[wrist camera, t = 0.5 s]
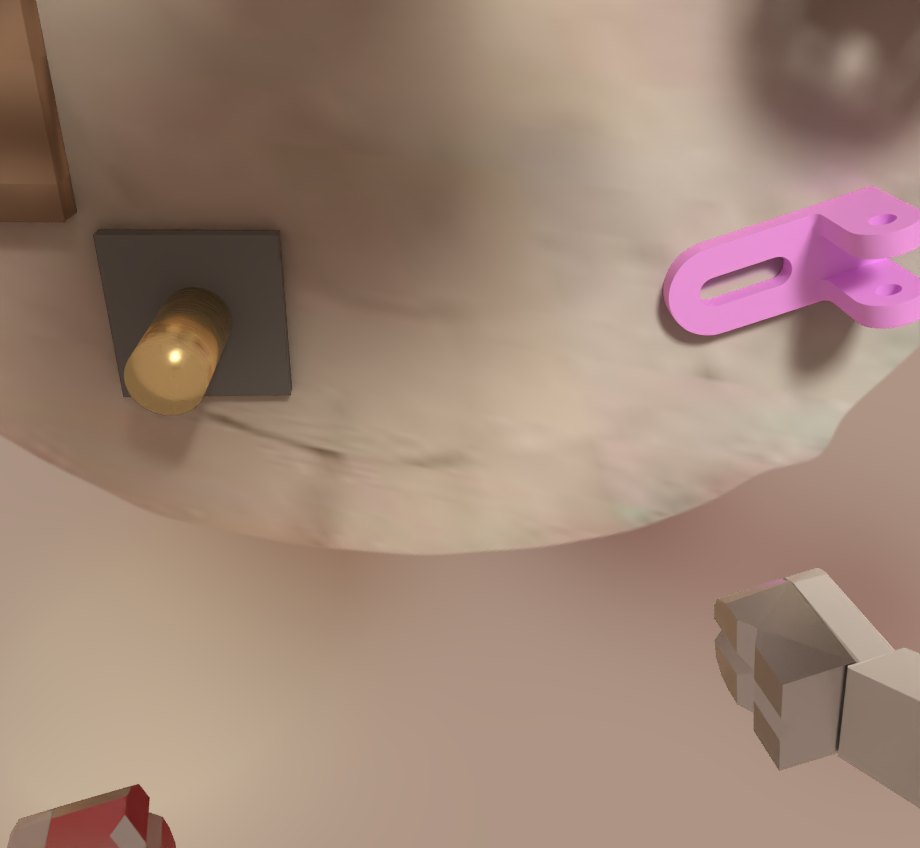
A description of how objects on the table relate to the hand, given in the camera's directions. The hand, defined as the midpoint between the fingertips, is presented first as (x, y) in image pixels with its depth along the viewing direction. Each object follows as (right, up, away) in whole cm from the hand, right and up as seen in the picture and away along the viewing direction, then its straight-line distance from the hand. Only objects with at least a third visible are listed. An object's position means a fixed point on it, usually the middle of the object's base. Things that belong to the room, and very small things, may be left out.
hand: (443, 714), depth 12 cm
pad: (-15, +11, +39) cm, 43 cm away
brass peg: (-15, +10, +38) cm, 42 cm away
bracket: (+19, +14, +40) cm, 47 cm away
